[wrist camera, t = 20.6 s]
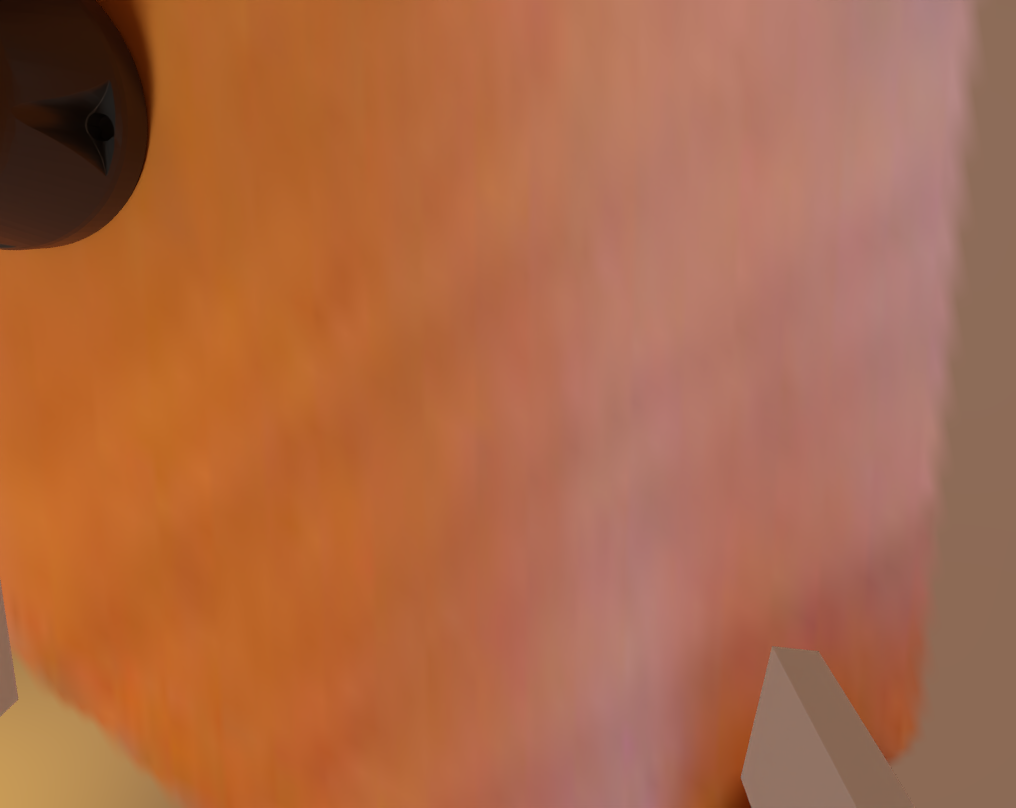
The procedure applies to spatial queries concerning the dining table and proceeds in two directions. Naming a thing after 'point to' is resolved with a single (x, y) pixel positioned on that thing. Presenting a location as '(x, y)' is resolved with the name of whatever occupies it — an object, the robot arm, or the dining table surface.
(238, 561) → the dining table surface
